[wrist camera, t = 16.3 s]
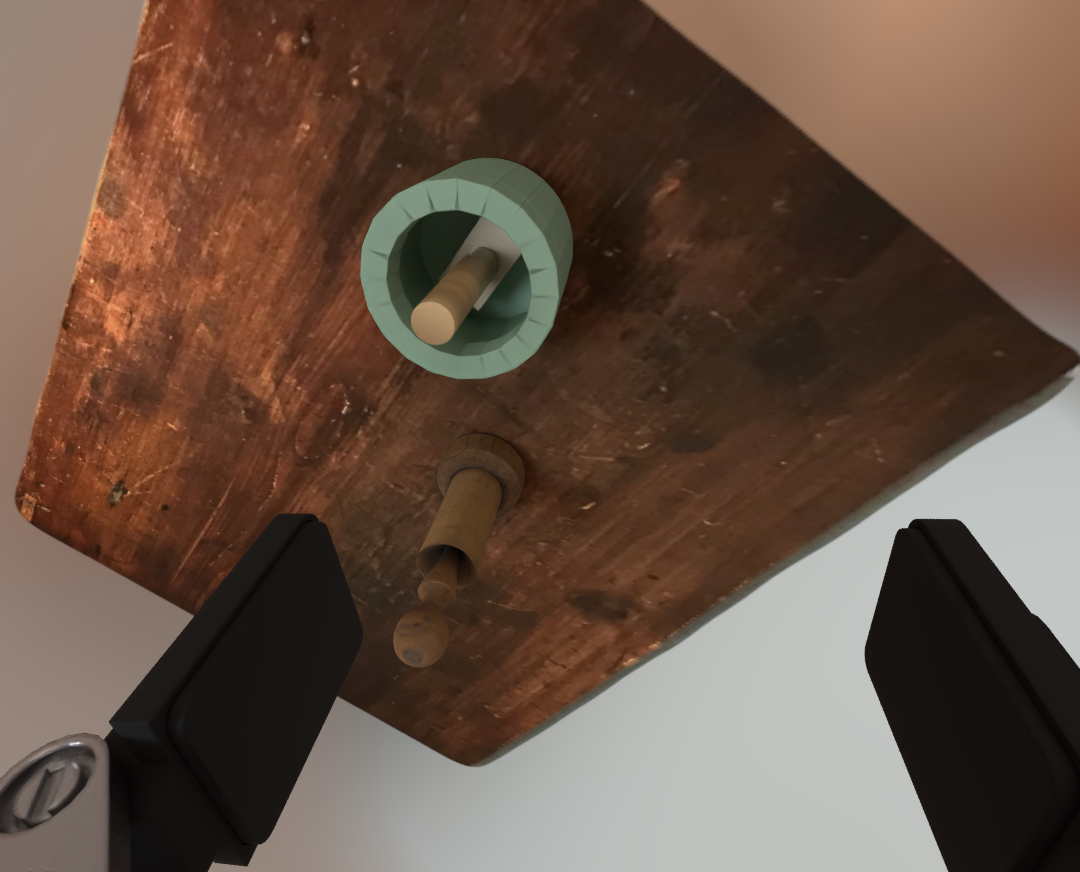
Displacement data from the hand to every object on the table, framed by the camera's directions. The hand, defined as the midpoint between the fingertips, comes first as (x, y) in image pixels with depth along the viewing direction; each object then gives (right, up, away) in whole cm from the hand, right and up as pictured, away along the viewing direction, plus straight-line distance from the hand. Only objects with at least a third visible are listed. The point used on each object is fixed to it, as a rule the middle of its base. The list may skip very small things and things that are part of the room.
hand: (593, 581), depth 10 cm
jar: (-4, +15, +27) cm, 31 cm away
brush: (-4, +14, +27) cm, 31 cm away
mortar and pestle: (-5, 0, +37) cm, 37 cm away
